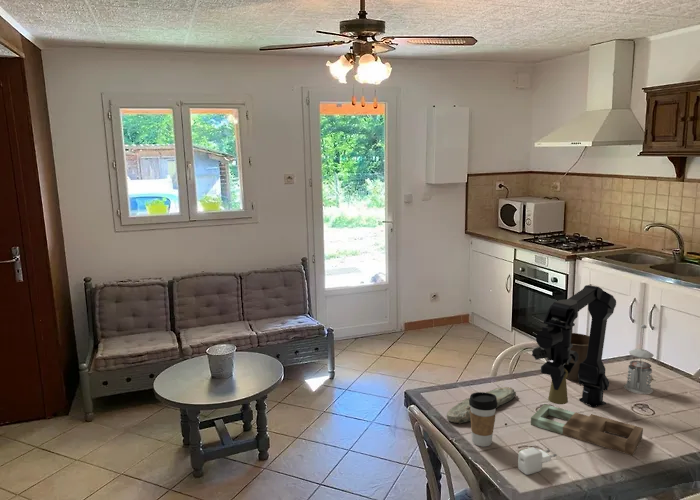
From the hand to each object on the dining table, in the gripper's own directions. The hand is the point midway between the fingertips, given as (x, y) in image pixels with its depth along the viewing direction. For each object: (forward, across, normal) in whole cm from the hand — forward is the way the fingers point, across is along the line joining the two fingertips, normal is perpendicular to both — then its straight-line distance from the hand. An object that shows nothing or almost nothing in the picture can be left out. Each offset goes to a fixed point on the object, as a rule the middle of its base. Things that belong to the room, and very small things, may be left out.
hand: (558, 387), depth 177 cm
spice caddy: (+12, 0, +9) cm, 15 cm away
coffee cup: (+13, +26, -14) cm, 32 cm away
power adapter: (+13, +30, +4) cm, 33 cm away
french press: (+13, -45, +15) cm, 49 cm away
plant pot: (+13, -42, -7) cm, 44 cm away
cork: (+5, 0, 0) cm, 5 cm away
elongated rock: (+13, +5, -24) cm, 28 cm away
